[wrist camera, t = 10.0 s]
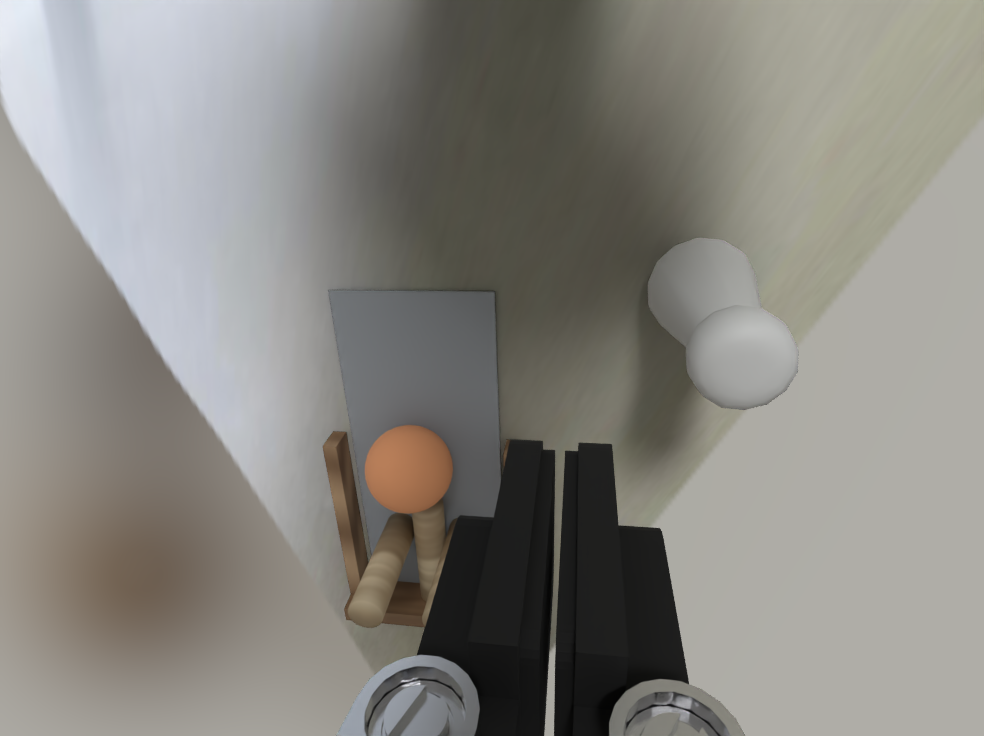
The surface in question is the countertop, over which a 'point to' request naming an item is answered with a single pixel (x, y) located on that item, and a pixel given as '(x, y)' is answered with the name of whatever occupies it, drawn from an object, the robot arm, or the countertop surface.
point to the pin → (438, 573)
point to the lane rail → (406, 595)
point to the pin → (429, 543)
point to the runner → (423, 388)
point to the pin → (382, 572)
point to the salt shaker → (722, 324)
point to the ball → (408, 469)
